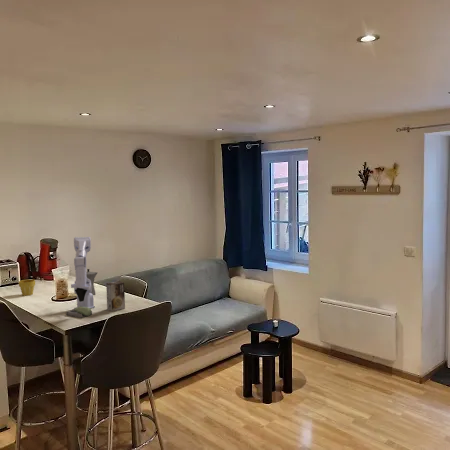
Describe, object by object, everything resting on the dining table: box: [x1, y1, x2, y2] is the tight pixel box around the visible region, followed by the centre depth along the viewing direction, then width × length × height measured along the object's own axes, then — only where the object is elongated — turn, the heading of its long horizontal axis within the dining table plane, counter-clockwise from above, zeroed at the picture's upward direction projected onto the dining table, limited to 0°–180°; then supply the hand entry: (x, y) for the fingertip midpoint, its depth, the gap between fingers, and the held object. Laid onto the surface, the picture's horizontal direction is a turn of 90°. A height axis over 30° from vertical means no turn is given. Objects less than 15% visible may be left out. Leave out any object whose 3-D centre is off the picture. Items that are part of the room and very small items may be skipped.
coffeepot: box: [86, 268, 98, 296], centre depth 300 cm, size 15×9×18 cm, turn 129°
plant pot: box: [18, 279, 36, 297], centre depth 302 cm, size 10×10×10 cm
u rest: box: [66, 308, 93, 319], centre depth 251 cm, size 8×12×2 cm, turn 60°
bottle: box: [74, 306, 92, 317], centre depth 250 cm, size 4×4×10 cm
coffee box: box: [105, 280, 126, 312], centre depth 263 cm, size 9×6×16 cm
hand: (81, 301), depth 249 cm, fingers closed
